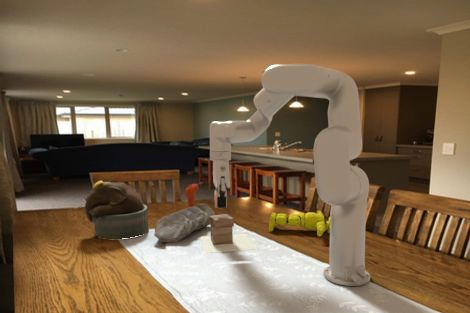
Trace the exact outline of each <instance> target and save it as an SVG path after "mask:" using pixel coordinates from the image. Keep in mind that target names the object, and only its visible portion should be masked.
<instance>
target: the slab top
mask: <svg viewBox="0 0 470 313" xmlns="http://www.w3.org/2000/svg"><path fill="white" fill-rule="evenodd" d="M234 219H235V218H234V217H232V216H231V215H229V214H227V213H223V214H214V215H213V216H209V226H210V227H211V226H212V227H214V228H215V229H218V228H226V227H232V228H233V227H234V226H235V222H234V221H235V220H234Z"/></svg>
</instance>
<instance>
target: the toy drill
mask: <svg viewBox="0 0 470 313" xmlns="http://www.w3.org/2000/svg"><path fill="white" fill-rule="evenodd" d="M202 184H203V181H201V182H199V183H198V182H197V183H192V184H188V186H187V187H186V188H185V191H184V194H185V197H187V208H189V207H193V206H195V205H196V203H195V197H194V196H195V195H196V194H197V192H198V190H199V188H200V187H201V185H202Z"/></svg>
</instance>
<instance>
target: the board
mask: <svg viewBox="0 0 470 313" xmlns="http://www.w3.org/2000/svg"><path fill="white" fill-rule="evenodd" d="M200 240H201V242H202V246H203V249H204V251H205V254H210V253H212V254H213V253H222V252H223V253H224V252H237V251H249V250H250V251H251V250H258V249H259V248H258V246H256V244H255V243H254V242H253V240H252V238H250V236H249V235H248V234H247V233H240V234H233V244H220V245H213V243H212V241H211V235H209V236H208V235H207V236H200Z"/></svg>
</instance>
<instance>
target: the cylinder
mask: <svg viewBox="0 0 470 313" xmlns="http://www.w3.org/2000/svg"><path fill="white" fill-rule="evenodd" d="M227 193H228V191H227V189H226V208H228V206H227V205H228V204H227V203H228V202H227V201H228V200H227V199H228V198H227V197H228V196H227V195H228V194H227ZM217 197H218V190H216V189H214V208H215V209H219V208H218V207H217Z"/></svg>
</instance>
